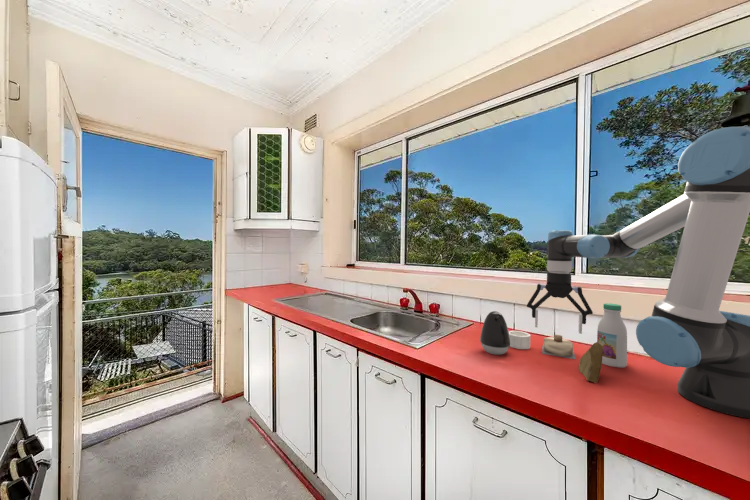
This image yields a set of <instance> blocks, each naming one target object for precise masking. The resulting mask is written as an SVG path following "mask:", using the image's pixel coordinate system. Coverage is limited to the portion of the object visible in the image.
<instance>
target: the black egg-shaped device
mask: <svg viewBox="0 0 750 500" xmlns="http://www.w3.org/2000/svg"><path fill="white" fill-rule="evenodd" d="M509 331H510V330H509V328H508V325H507V322H506V319H505V317H504V316H503V314H502V313H500V312H499V311H496V310H494V311H490V312H489V313H488V314H487V315H486V317H485V319H484V321H483V325H482V327H481V332H480V337H479V341H480V344H481V347H482V349H483V350H484V351H485V352H487V353H488V354H490V355H497V356H501V355H504V354H506V353H507V352H508V350H509V348H510V336H509Z"/></svg>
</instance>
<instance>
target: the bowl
mask: <svg viewBox="0 0 750 500" xmlns="http://www.w3.org/2000/svg"><path fill="white" fill-rule="evenodd" d="M508 331H509V336H510V346H509V348H514V349H518V350H529V349H531V334H530V333H528V332H525V331H521V330H508Z"/></svg>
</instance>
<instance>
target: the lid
mask: <svg viewBox="0 0 750 500" xmlns="http://www.w3.org/2000/svg"><path fill="white" fill-rule="evenodd" d="M543 346H544V351H545V352H547V353H550V354H553V355H557V356H556V357H559V356H564V357H563V358H565V357H568V356H572V355H573V351H574V343H573V342H572V341H571V340H569V339H566V338H563V335H561V334H553V336H548V337H544V338H543ZM553 355H552V356H553Z"/></svg>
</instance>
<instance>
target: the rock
mask: <svg viewBox="0 0 750 500" xmlns="http://www.w3.org/2000/svg"><path fill="white" fill-rule="evenodd" d="M602 354H603V346H602V345H601V344H599V343H597V341H596V342H593V344H591V346H590V347H589V349H587V350H586V352H584V353H583V355H582V356H581V357H580V359H579V365H578V372H580V373H581V374H582V375H583V377H585V379H586V380H587V382H591V383H595V384H598V383H599V379H600V377H601V376H600V374H601V368H602Z"/></svg>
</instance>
